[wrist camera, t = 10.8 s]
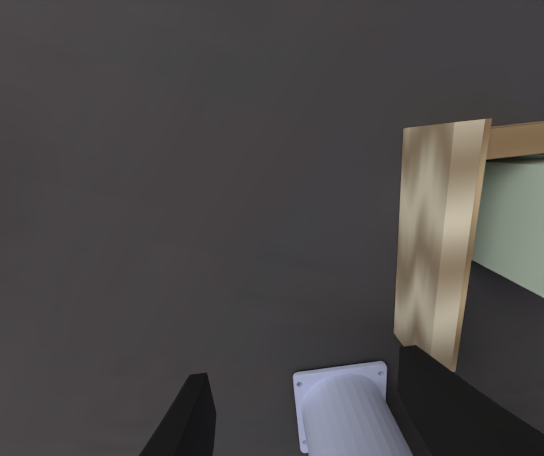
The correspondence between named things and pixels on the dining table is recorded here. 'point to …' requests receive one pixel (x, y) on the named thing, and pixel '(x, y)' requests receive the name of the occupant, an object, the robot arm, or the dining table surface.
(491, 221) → the cabinet block
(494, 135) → the l-shaped wooden block
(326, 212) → the dining table surface
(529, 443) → the robot arm
